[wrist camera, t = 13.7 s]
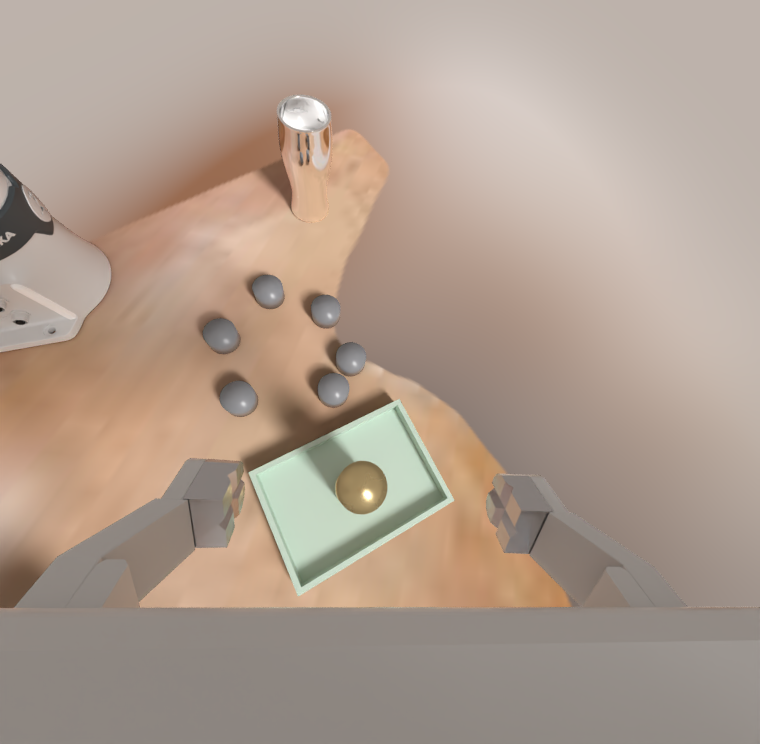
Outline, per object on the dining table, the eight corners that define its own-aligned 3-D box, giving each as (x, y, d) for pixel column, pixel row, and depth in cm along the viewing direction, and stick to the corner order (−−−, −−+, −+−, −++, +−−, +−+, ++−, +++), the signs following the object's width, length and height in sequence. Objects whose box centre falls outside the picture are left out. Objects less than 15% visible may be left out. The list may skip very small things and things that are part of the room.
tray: (300, 589, 38) (298, 596, 36) (252, 473, 41) (248, 472, 39) (447, 499, 43) (454, 500, 41) (395, 403, 47) (399, 398, 44)
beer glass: (303, 185, 57) (295, 85, 43) (339, 204, 57) (343, 110, 43) (279, 212, 55) (263, 115, 41) (317, 232, 54) (314, 141, 40)
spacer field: (243, 451, 42) (238, 448, 40) (187, 311, 47) (180, 302, 44) (379, 387, 47) (381, 382, 45) (315, 268, 52) (315, 258, 50)
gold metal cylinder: (344, 514, 40) (350, 524, 28) (328, 479, 41) (328, 475, 29) (376, 495, 42) (396, 498, 29) (360, 462, 43) (373, 451, 30)
